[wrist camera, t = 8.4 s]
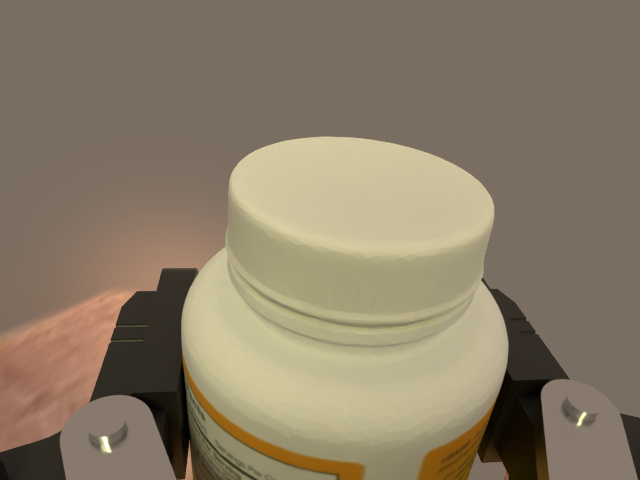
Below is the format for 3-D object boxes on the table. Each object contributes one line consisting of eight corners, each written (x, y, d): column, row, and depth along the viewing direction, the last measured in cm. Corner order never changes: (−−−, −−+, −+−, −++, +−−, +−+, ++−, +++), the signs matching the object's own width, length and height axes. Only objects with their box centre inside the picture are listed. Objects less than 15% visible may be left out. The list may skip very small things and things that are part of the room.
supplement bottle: (394, 451, 16) (472, 126, 10) (455, 678, 11) (657, 290, 6) (207, 459, 15) (191, 113, 10) (186, 707, 10) (130, 291, 5)
